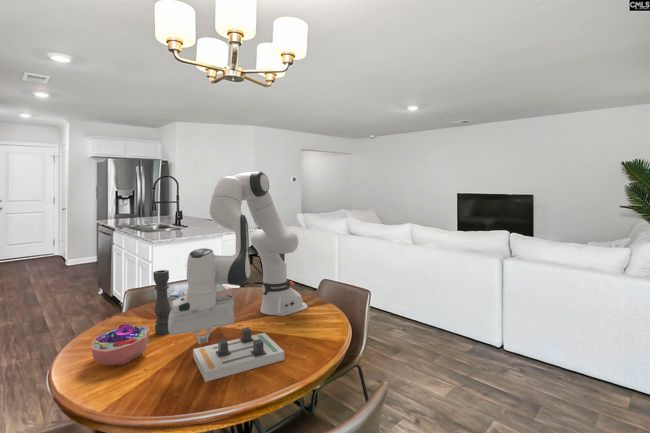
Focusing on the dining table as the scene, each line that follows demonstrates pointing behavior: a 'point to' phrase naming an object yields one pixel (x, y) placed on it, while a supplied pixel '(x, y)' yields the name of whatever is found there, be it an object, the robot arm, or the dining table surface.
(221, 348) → the breaker
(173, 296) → the medicine box
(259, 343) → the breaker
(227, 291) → the toy car
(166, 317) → the candle holder
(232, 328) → the dining table surface
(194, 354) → the panel
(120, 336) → the cell model
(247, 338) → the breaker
